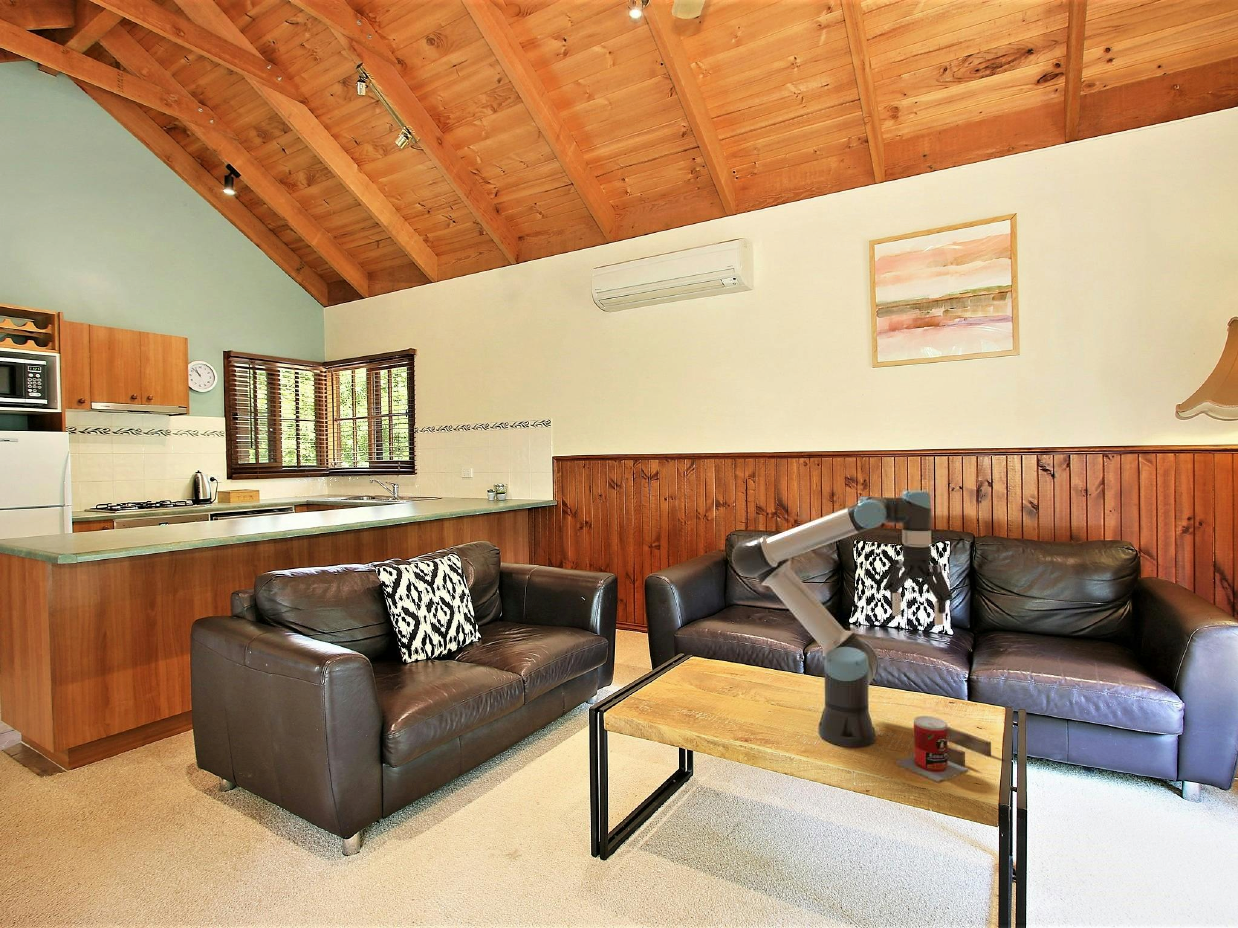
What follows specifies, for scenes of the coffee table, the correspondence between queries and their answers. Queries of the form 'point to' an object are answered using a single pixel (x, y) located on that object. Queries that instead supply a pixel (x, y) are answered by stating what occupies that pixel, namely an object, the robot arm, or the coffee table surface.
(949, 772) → the mat
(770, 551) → the robot arm
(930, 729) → the canned food
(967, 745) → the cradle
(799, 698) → the coffee table surface
